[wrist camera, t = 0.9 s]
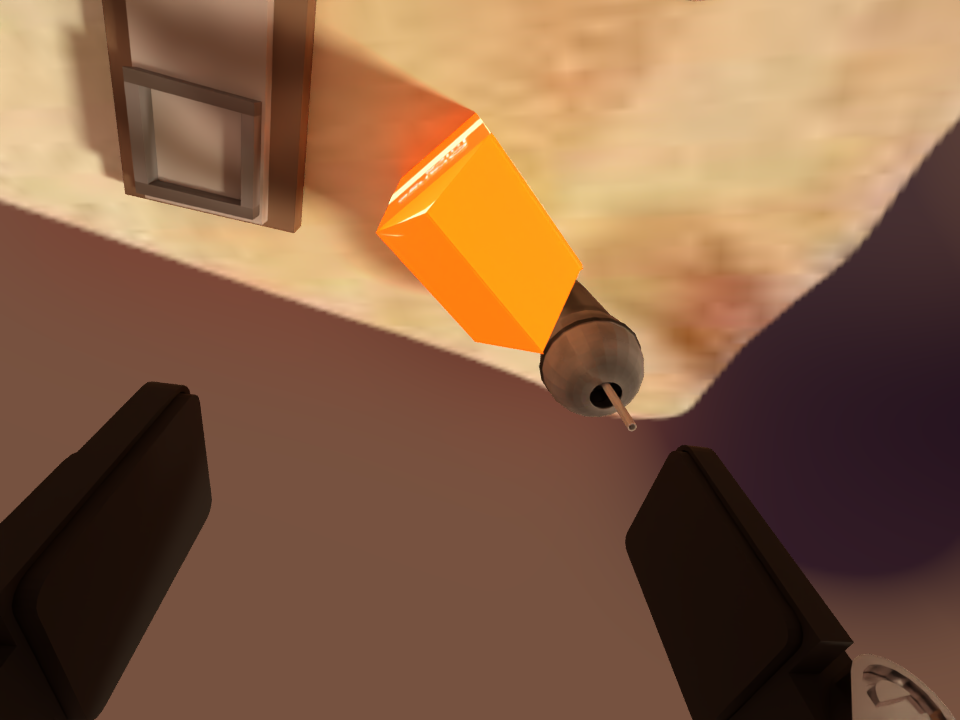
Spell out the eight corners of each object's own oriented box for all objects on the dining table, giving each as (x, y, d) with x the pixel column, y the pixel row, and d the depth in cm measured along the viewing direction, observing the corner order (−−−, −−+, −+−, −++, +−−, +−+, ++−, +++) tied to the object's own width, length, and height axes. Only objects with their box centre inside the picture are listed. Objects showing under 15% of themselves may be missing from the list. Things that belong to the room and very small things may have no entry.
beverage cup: (519, 334, 45) (561, 494, 28) (518, 261, 41) (567, 396, 24) (594, 329, 45) (682, 485, 28) (600, 256, 41) (708, 385, 24)
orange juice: (476, 110, 34) (502, 145, 17) (542, 205, 38) (615, 310, 21) (398, 179, 37) (354, 269, 20) (468, 262, 41) (481, 398, 24)
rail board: (92, -280, 24) (-142, -512, 15) (328, -187, 26) (259, -336, 17) (140, 188, 36) (29, 229, 26) (300, 226, 38) (251, 276, 29)
